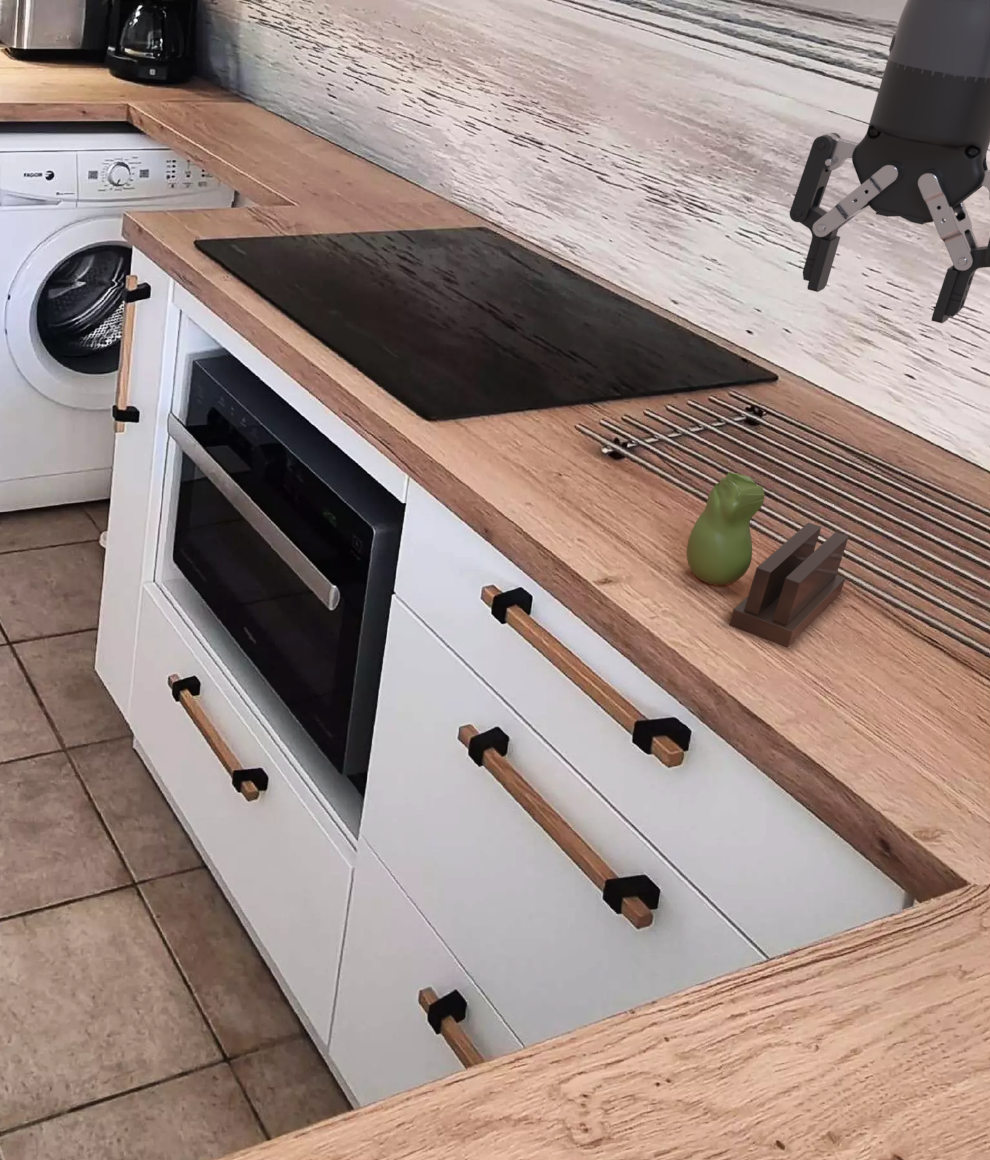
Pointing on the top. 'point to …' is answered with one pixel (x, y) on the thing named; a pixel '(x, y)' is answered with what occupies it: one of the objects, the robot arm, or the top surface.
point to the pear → (725, 531)
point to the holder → (792, 587)
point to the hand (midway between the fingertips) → (876, 304)
